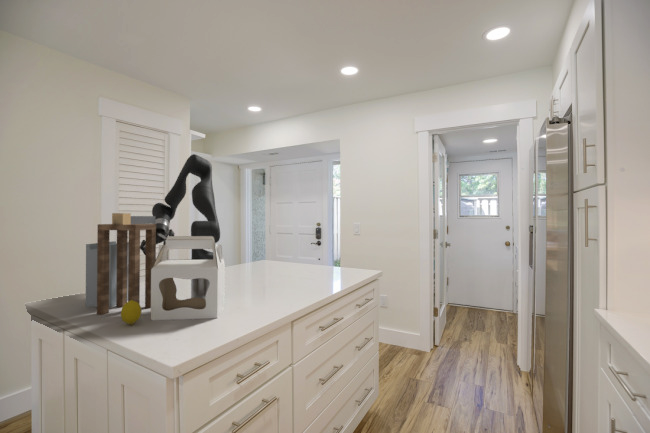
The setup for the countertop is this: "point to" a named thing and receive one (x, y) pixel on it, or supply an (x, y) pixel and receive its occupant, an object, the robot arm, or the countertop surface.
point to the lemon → (131, 312)
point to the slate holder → (92, 274)
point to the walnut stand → (124, 264)
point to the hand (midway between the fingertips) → (155, 250)
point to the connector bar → (131, 219)
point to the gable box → (166, 270)
